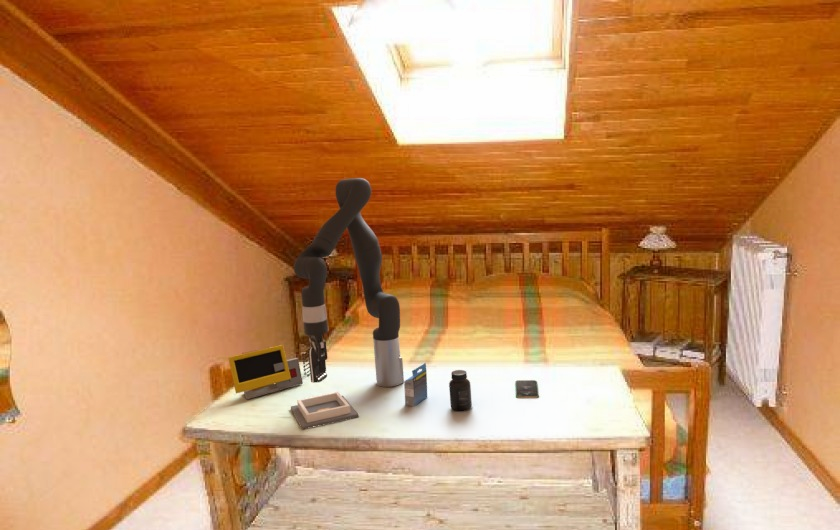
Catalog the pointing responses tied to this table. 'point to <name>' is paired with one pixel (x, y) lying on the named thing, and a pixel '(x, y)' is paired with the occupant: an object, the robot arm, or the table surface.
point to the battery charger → (315, 367)
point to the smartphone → (526, 389)
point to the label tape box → (416, 386)
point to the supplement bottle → (460, 391)
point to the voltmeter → (291, 373)
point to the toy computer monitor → (258, 371)
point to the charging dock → (323, 410)
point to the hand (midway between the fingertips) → (319, 368)
